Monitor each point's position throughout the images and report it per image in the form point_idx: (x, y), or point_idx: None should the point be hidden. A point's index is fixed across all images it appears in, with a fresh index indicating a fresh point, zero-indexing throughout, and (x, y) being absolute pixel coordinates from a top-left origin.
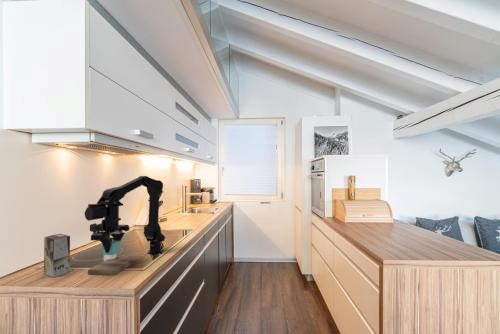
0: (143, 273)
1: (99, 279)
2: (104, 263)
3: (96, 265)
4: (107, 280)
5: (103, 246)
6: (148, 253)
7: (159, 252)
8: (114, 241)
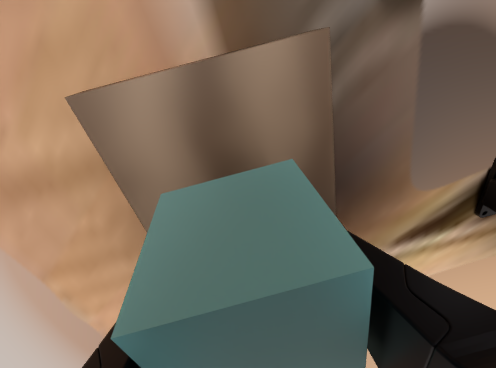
0: None
1: (97, 226)
2: (229, 101)
3: (166, 74)
4: (116, 263)
5: (102, 342)
6: (493, 165)
7: (490, 214)
8: (313, 361)
